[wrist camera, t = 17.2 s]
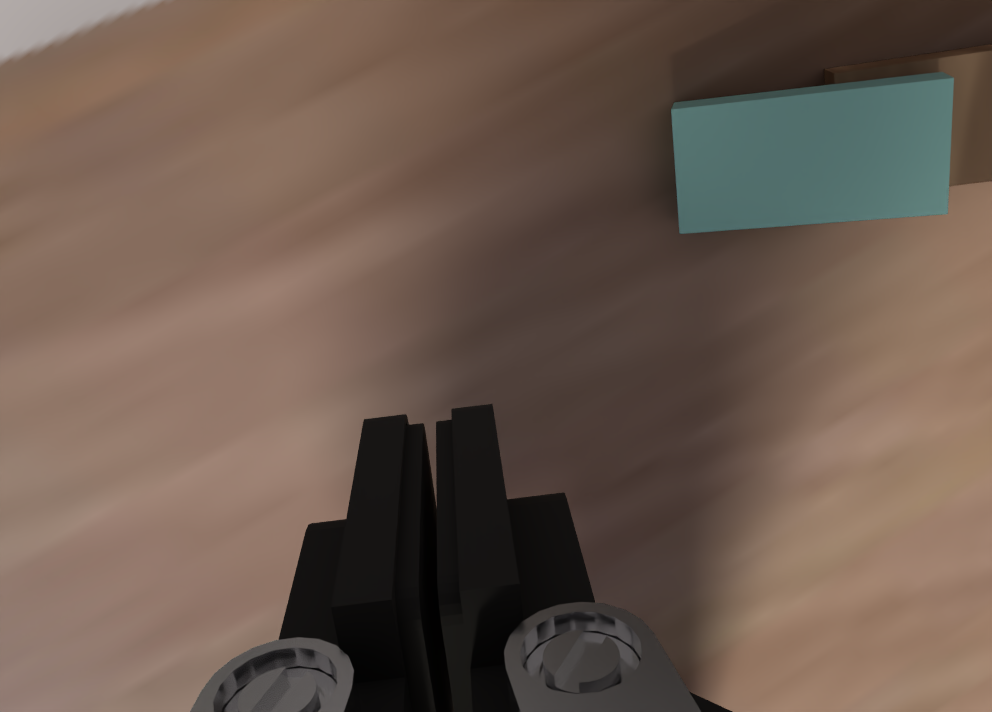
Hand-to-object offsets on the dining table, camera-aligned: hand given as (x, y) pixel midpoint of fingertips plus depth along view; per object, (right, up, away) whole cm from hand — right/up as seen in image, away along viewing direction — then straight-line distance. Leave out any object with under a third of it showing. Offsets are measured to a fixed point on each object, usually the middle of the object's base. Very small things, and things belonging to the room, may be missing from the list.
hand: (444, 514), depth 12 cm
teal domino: (+8, +10, +25) cm, 28 cm away
